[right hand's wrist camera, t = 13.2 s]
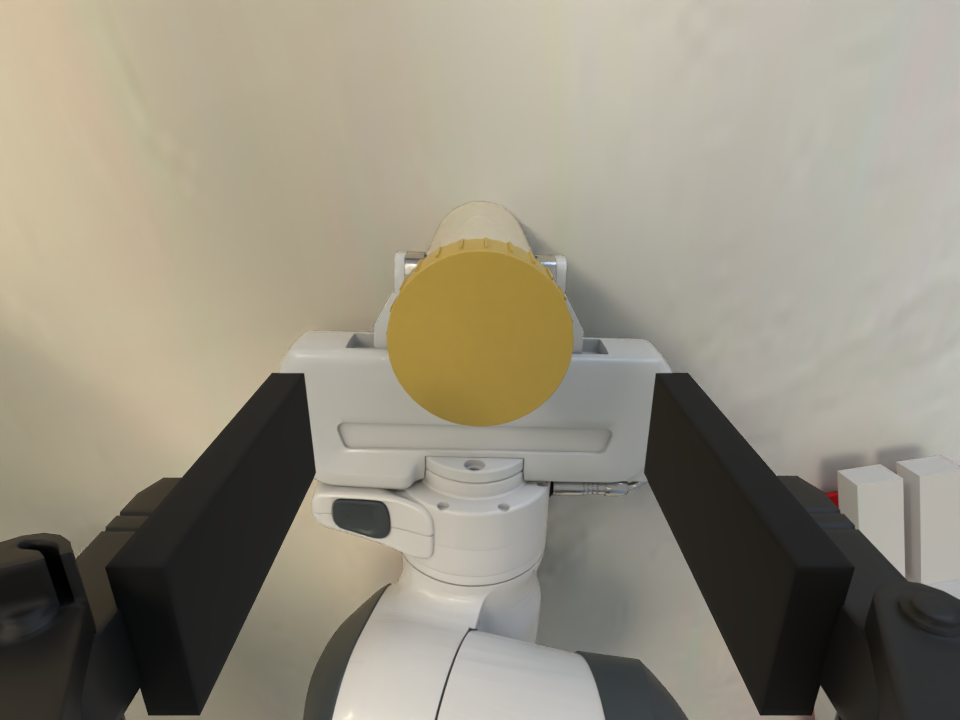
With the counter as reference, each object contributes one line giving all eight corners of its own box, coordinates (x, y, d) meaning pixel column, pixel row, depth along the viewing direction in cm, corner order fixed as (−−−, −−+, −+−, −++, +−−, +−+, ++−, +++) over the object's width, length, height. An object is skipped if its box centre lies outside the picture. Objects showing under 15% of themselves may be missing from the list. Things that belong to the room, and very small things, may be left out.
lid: (471, 197, 20) (470, 205, 18) (602, 315, 21) (615, 335, 19) (359, 331, 22) (346, 352, 20) (488, 430, 23) (488, 460, 21)
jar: (475, 180, 34) (471, 221, 18) (545, 244, 35) (596, 332, 20) (415, 253, 35) (364, 346, 20) (484, 311, 37) (487, 441, 21)
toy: (1091, 497, 30) (1065, 926, 37) (912, 413, 43) (917, 742, 50) (849, 532, 31) (867, 945, 38) (745, 439, 44) (772, 758, 51)
